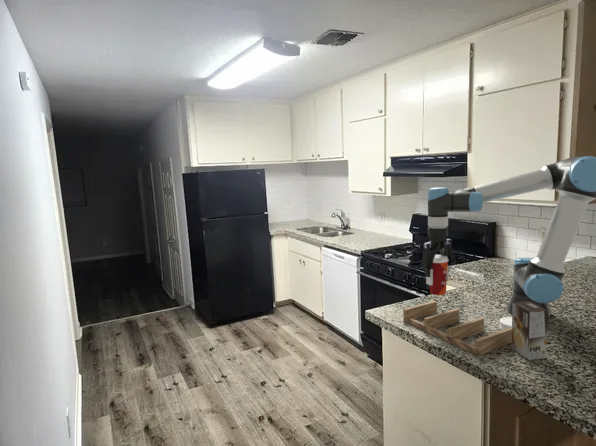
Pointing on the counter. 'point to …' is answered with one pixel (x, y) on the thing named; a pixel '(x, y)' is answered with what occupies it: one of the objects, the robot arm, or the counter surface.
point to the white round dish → (505, 323)
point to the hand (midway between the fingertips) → (437, 282)
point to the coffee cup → (439, 275)
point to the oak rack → (456, 328)
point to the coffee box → (529, 330)
